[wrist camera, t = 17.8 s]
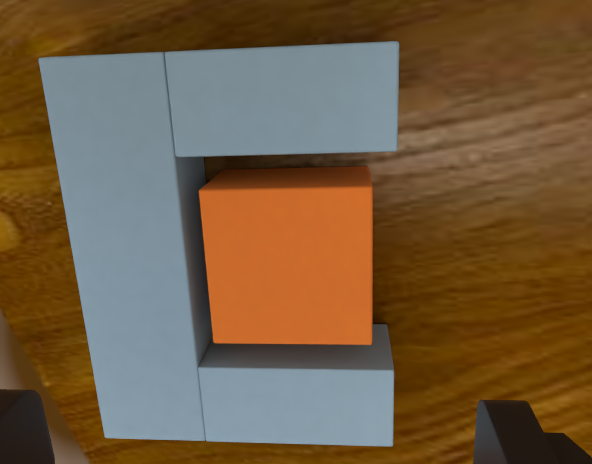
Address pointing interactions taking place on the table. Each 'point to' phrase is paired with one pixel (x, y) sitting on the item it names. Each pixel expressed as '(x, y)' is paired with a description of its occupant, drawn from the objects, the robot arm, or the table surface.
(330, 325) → the orange block
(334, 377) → the light blue u-shaped block
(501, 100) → the table surface
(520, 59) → the table surface
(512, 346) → the table surface
